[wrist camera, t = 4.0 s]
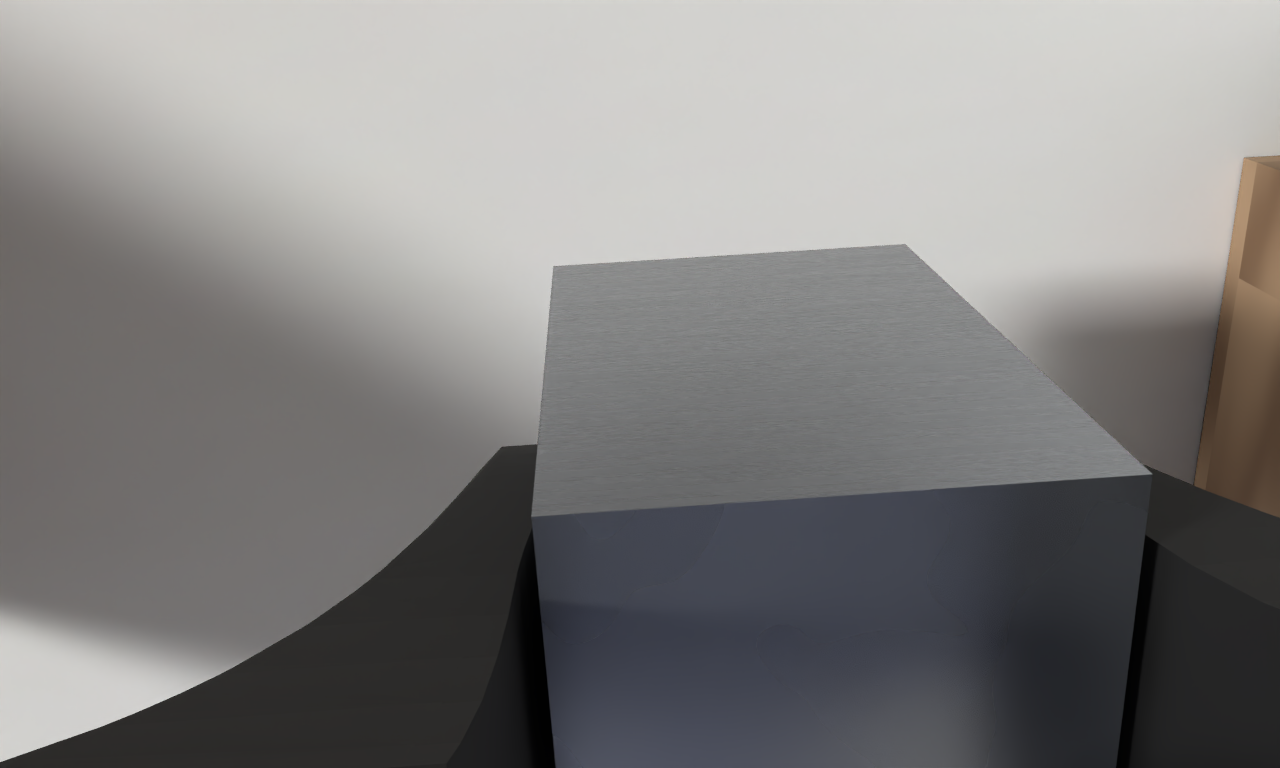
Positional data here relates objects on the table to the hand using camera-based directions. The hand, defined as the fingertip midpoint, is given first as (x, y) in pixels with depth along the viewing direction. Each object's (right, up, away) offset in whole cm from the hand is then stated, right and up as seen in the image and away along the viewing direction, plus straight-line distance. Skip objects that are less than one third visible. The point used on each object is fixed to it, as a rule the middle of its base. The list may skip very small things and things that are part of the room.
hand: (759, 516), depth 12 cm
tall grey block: (0, +1, +2) cm, 2 cm away
